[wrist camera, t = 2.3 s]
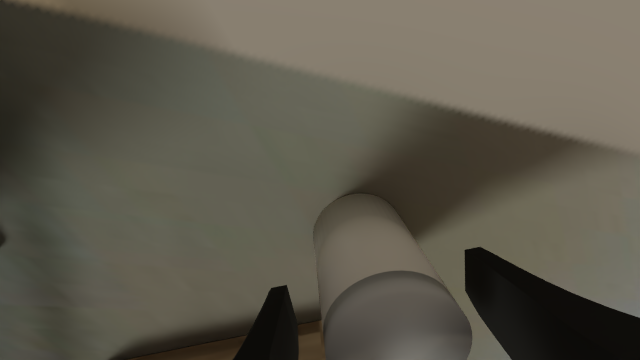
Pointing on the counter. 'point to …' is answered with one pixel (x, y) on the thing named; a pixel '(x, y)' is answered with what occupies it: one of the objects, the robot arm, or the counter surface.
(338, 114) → the counter surface
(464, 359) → the shaker
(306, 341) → the tray
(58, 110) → the counter surface
